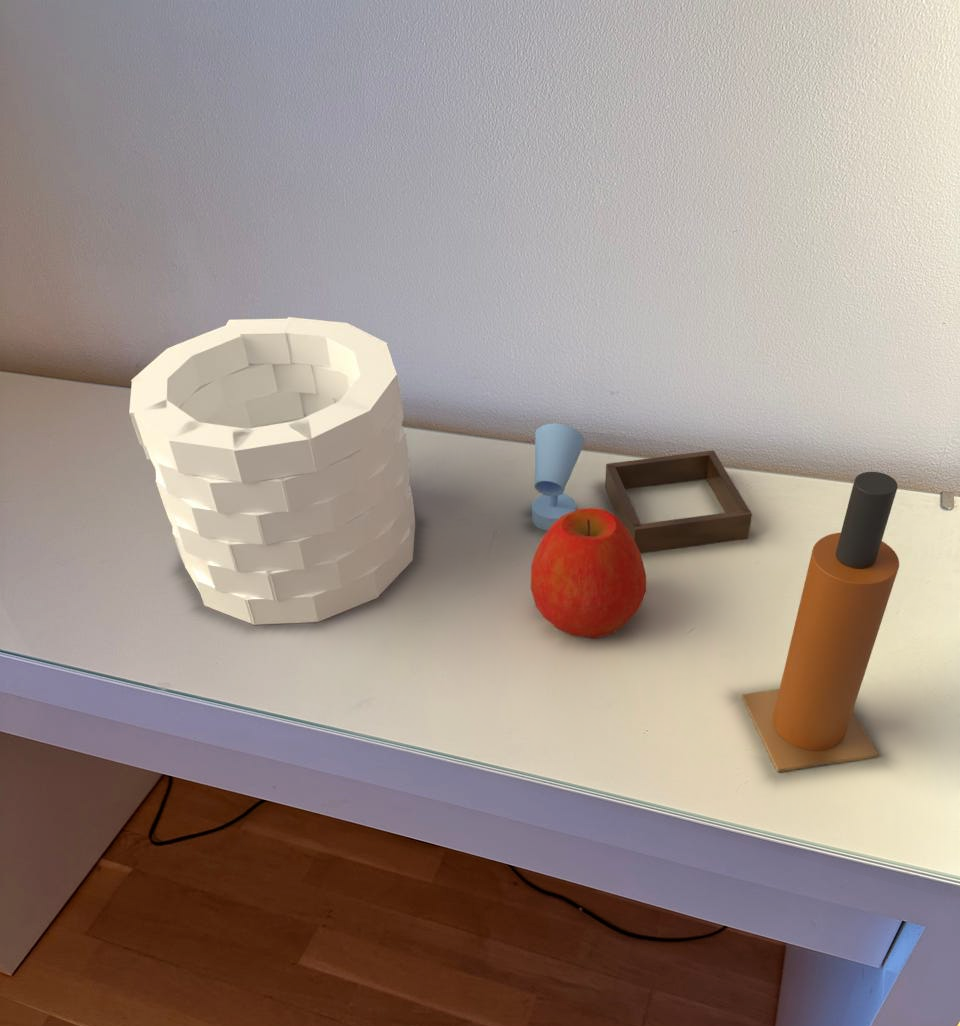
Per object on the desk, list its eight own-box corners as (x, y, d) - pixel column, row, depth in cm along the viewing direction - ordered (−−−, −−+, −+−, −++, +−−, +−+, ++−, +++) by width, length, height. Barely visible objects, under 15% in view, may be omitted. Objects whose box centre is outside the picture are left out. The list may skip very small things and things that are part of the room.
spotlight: (538, 494, 102) (524, 533, 97) (537, 410, 95) (521, 448, 90) (584, 499, 101) (572, 538, 96) (586, 414, 94) (573, 452, 89)
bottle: (828, 693, 79) (897, 453, 63) (858, 744, 75) (940, 502, 59) (762, 703, 78) (815, 464, 62) (788, 755, 74) (853, 514, 58)
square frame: (710, 473, 103) (713, 449, 101) (748, 538, 95) (752, 514, 92) (604, 487, 102) (605, 463, 100) (633, 554, 94) (635, 529, 92)
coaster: (834, 683, 80) (835, 680, 80) (877, 757, 74) (878, 753, 74) (741, 697, 79) (742, 694, 79) (777, 772, 74) (778, 769, 73)
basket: (413, 620, 88) (389, 443, 75) (157, 631, 89) (90, 457, 76) (423, 468, 107) (405, 304, 94) (211, 478, 107) (163, 317, 94)
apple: (553, 566, 93) (553, 475, 86) (657, 588, 90) (666, 496, 83) (515, 634, 86) (512, 541, 79) (626, 661, 83) (633, 567, 76)
